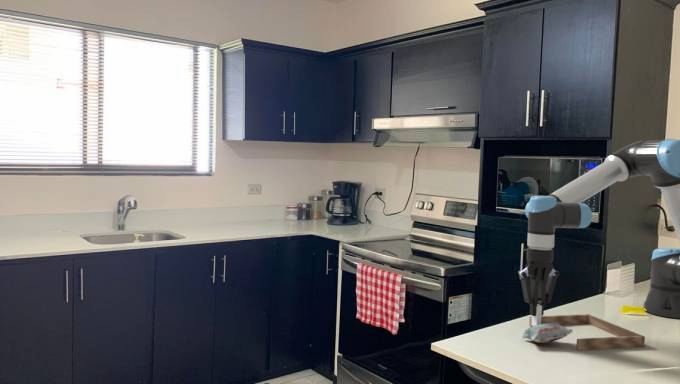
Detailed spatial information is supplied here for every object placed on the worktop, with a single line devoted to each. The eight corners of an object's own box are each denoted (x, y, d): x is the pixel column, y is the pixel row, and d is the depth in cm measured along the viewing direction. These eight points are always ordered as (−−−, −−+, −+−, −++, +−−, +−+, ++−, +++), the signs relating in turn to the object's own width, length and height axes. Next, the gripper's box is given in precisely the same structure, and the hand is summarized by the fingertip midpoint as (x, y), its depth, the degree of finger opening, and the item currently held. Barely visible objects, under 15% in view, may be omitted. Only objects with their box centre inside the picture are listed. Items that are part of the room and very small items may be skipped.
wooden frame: (587, 323, 183) (588, 314, 182) (644, 346, 159) (644, 336, 159) (529, 325, 177) (529, 316, 177) (578, 350, 154) (579, 339, 154)
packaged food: (574, 339, 154) (570, 322, 155) (533, 347, 154) (529, 329, 154) (562, 336, 163) (558, 319, 163) (522, 343, 162) (519, 326, 163)
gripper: (551, 245, 168) (547, 322, 169) (513, 246, 165) (509, 323, 166) (567, 249, 161) (562, 329, 162) (528, 249, 158) (523, 331, 159)
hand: (536, 326), depth 164 cm, fingers closed
